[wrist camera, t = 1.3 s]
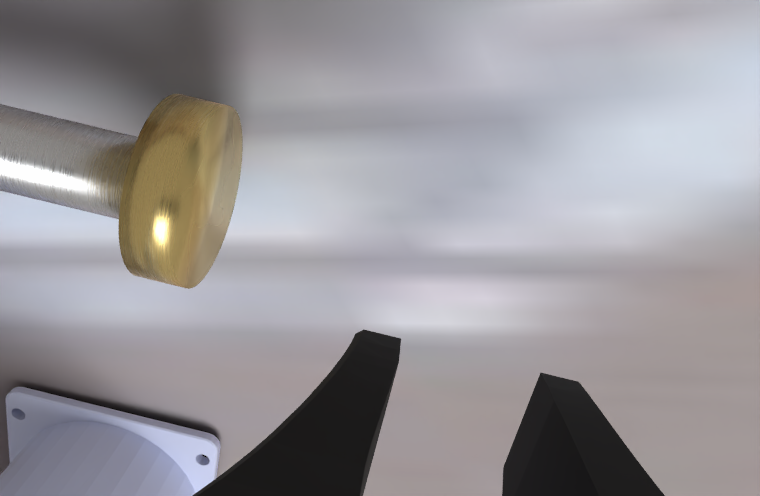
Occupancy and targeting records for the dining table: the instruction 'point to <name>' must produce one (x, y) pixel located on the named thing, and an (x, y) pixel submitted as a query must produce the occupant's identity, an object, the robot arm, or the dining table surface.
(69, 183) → the shaft
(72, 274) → the dining table surface
